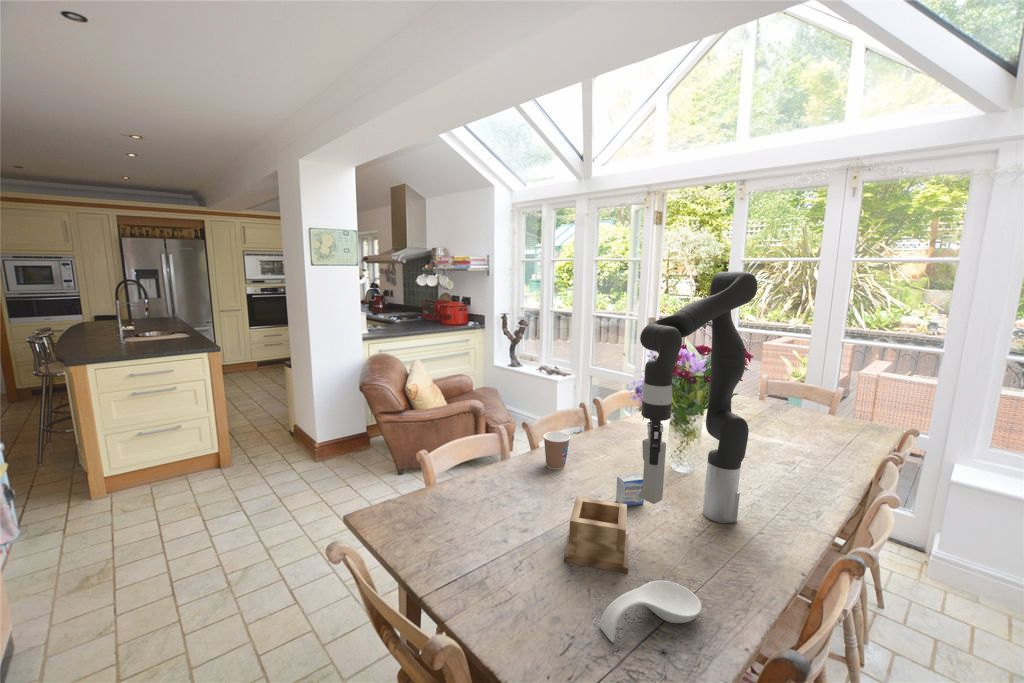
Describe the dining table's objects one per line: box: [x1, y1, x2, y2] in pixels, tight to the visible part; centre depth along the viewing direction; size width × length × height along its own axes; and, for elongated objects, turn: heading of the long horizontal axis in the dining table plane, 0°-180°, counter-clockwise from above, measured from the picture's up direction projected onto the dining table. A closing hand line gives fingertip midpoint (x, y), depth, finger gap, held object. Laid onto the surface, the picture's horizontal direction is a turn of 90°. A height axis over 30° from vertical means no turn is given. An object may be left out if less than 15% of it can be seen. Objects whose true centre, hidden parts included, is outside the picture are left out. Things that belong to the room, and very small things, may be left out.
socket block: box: [563, 496, 630, 574], centre depth 121 cm, size 16×15×11 cm
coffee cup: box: [543, 431, 571, 470], centre depth 172 cm, size 10×10×12 cm
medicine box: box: [615, 473, 645, 507], centre depth 146 cm, size 8×4×9 cm, turn 105°
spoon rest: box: [598, 579, 702, 643], centre depth 97 cm, size 24×12×7 cm, turn 114°
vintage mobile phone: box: [639, 437, 667, 505], centre depth 122 cm, size 4×5×25 cm
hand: (653, 459), depth 122 cm, fingers closed on vintage mobile phone, 5 cm apart
